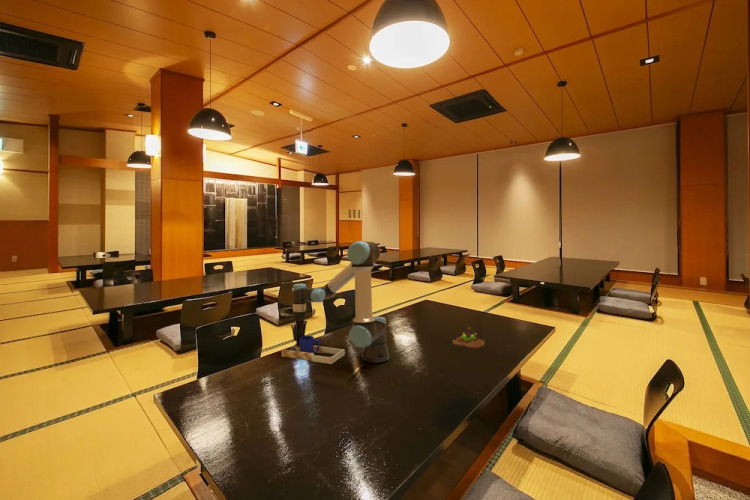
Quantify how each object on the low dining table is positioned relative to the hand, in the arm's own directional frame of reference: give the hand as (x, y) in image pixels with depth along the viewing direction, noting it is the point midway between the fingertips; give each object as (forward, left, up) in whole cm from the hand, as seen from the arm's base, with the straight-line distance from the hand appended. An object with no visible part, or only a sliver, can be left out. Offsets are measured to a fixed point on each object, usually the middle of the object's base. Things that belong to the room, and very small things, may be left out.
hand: (299, 351), depth 186 cm
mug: (-7, 0, -1) cm, 7 cm away
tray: (-19, 0, -1) cm, 19 cm away
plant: (-90, -55, -2) cm, 105 cm away
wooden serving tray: (-3, 0, -1) cm, 3 cm away
